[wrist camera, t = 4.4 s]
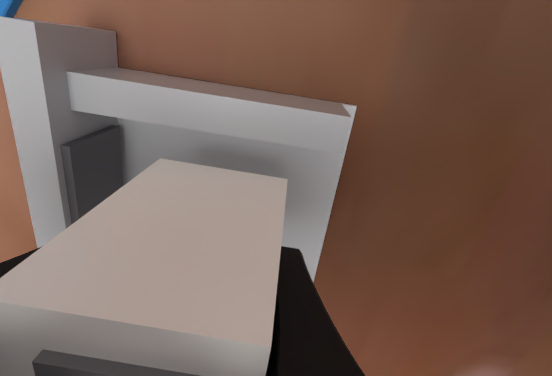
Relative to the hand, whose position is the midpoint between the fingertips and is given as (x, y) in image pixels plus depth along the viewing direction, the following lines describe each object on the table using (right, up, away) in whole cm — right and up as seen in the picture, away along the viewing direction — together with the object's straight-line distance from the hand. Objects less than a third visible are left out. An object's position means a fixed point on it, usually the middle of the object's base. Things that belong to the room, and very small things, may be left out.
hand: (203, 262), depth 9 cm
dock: (0, +2, +5) cm, 6 cm away
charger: (0, +1, +2) cm, 2 cm away
